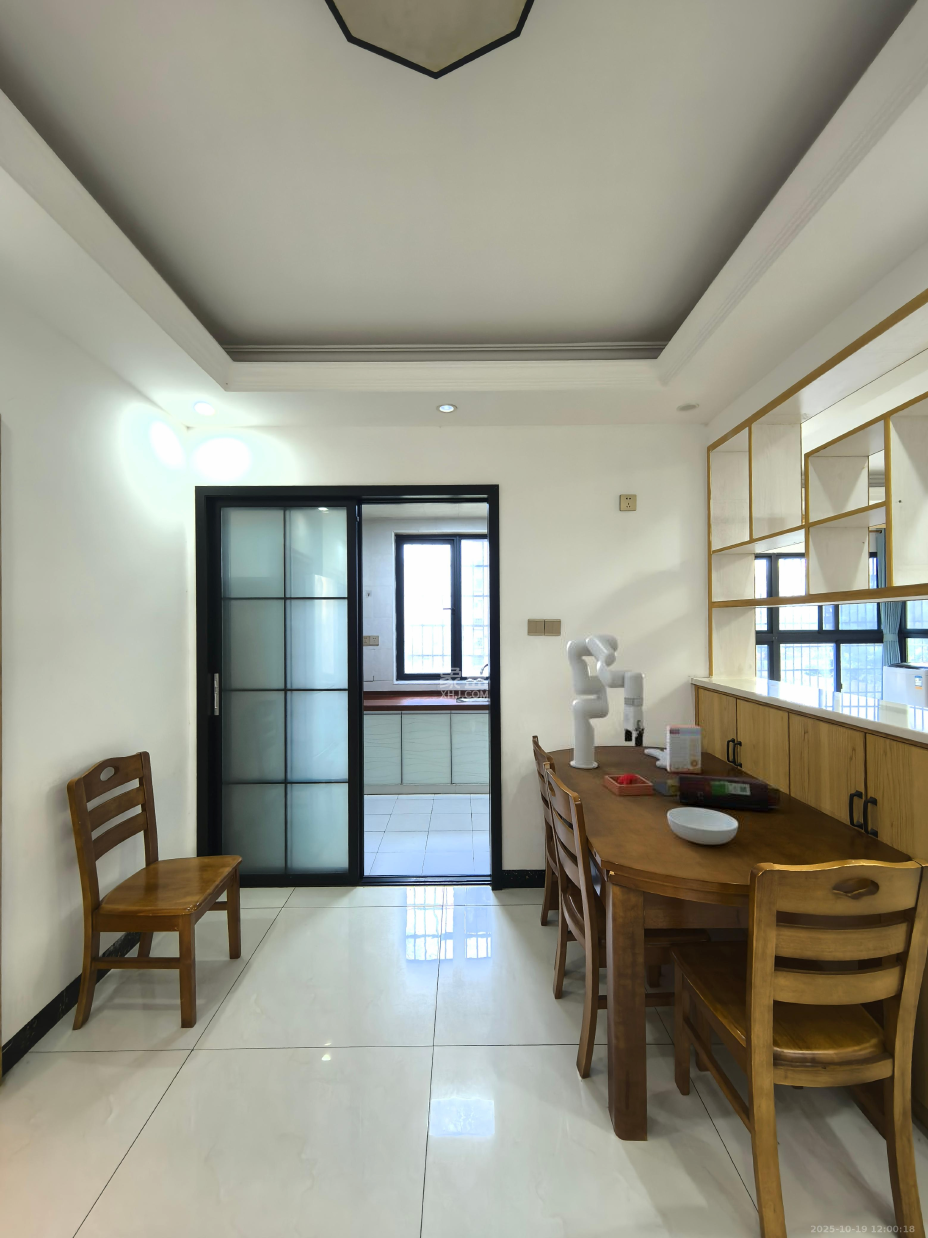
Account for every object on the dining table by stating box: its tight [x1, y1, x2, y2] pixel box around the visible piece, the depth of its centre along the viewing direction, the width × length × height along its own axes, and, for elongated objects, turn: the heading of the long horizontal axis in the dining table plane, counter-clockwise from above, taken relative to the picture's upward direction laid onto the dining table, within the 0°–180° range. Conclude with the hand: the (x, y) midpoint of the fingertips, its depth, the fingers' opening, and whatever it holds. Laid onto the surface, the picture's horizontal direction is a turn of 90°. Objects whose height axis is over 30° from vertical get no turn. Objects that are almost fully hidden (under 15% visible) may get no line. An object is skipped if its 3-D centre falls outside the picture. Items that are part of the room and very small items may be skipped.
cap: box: [618, 773, 638, 785], centre depth 241 cm, size 8×6×6 cm
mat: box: [649, 781, 677, 797], centre depth 242 cm, size 18×14×1 cm
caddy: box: [603, 774, 654, 797], centre depth 241 cm, size 15×15×4 cm
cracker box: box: [666, 724, 702, 774], centre depth 270 cm, size 14×6×21 cm, turn 84°
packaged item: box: [666, 773, 781, 813], centre depth 222 cm, size 39×10×10 cm, turn 76°
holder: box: [644, 748, 667, 770], centre depth 290 cm, size 19×34×5 cm, turn 175°
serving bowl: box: [666, 806, 739, 846], centre depth 187 cm, size 21×21×7 cm
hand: (633, 744), depth 241 cm, fingers open, 9 cm apart
